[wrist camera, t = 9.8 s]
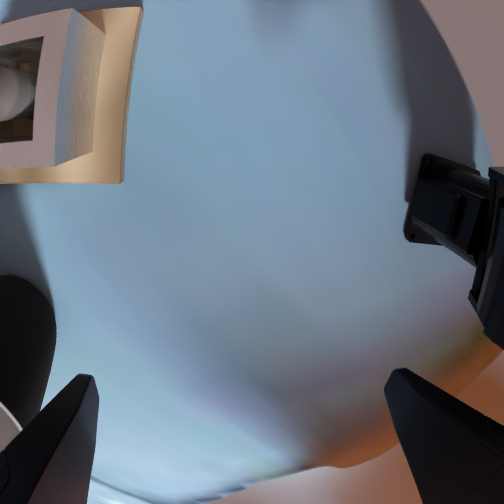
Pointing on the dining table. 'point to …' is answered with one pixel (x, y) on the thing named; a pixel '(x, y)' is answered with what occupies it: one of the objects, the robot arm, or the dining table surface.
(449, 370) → the dining table surface
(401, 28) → the dining table surface
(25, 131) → the shaft block
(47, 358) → the mug
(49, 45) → the collar
